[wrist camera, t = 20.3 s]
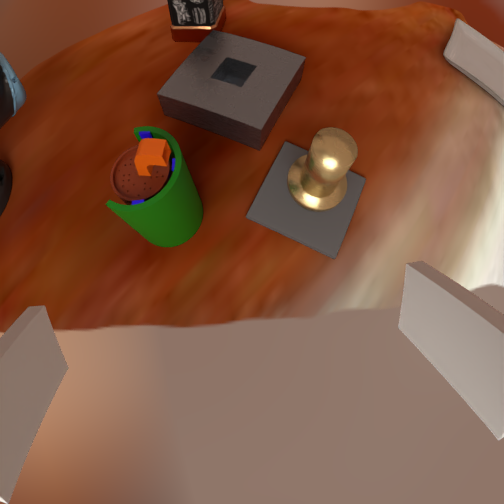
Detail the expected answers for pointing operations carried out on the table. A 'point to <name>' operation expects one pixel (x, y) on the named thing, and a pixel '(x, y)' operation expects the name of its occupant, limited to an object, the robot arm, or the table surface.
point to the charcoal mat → (297, 218)
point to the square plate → (477, 59)
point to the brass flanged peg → (322, 171)
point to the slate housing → (233, 87)
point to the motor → (156, 189)
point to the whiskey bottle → (195, 19)
